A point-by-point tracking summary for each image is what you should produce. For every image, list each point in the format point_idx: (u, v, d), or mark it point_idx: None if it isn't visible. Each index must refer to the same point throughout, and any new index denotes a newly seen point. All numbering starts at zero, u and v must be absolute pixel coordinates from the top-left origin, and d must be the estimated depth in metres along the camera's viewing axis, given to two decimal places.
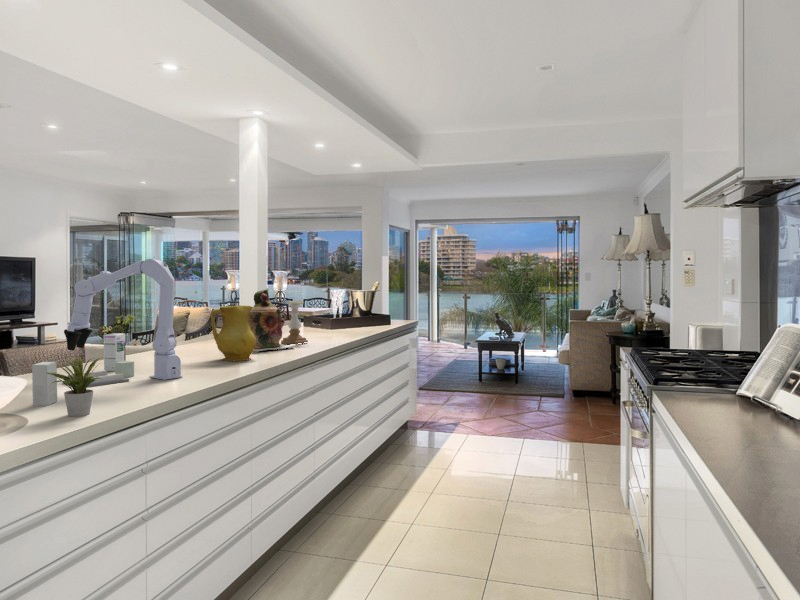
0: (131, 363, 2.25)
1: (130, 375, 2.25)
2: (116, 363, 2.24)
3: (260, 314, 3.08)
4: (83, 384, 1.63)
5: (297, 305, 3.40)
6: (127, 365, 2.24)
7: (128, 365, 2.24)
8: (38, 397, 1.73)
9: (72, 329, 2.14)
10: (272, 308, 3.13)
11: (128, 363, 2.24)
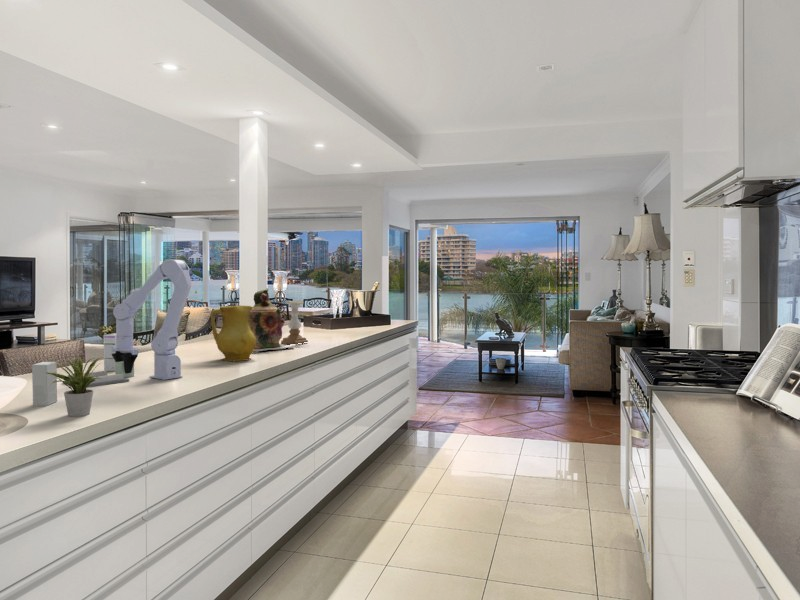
0: None
1: (130, 375, 2.25)
2: (116, 363, 2.24)
3: (260, 314, 3.08)
4: (83, 384, 1.63)
5: (297, 305, 3.40)
6: None
7: None
8: (38, 396, 1.73)
9: (137, 352, 2.21)
10: (272, 308, 3.13)
11: None
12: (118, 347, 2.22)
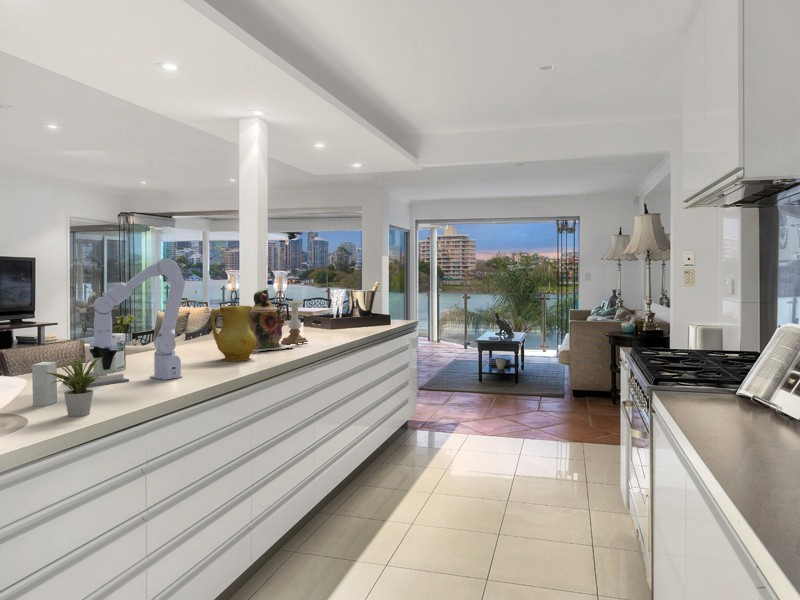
0: None
1: (109, 372, 2.14)
2: (94, 359, 2.13)
3: (260, 314, 3.08)
4: (83, 384, 1.63)
5: (297, 305, 3.40)
6: None
7: None
8: (38, 396, 1.73)
9: (116, 347, 2.10)
10: (272, 308, 3.13)
11: None
12: (96, 342, 2.11)
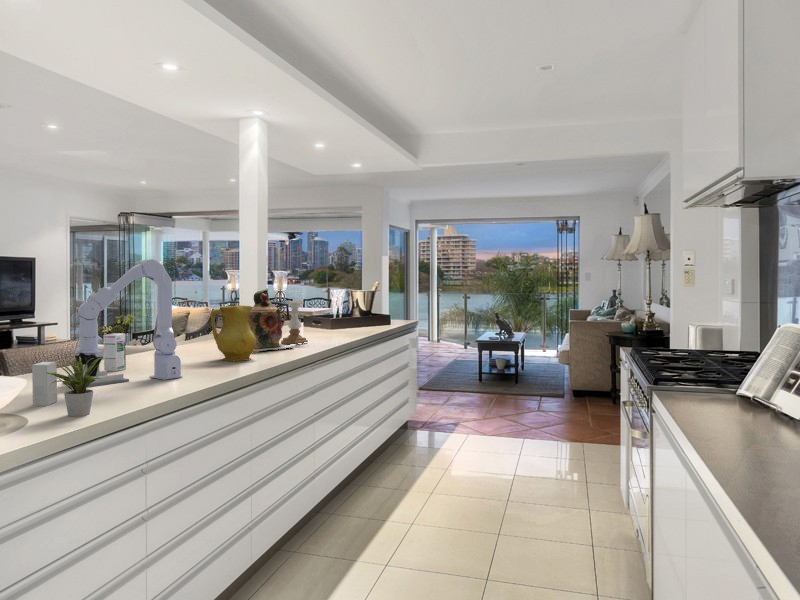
0: None
1: None
2: None
3: (260, 314, 3.08)
4: (83, 384, 1.63)
5: (297, 305, 3.40)
6: None
7: None
8: (38, 396, 1.73)
9: (102, 354, 2.06)
10: (272, 308, 3.13)
11: None
12: (81, 349, 2.07)
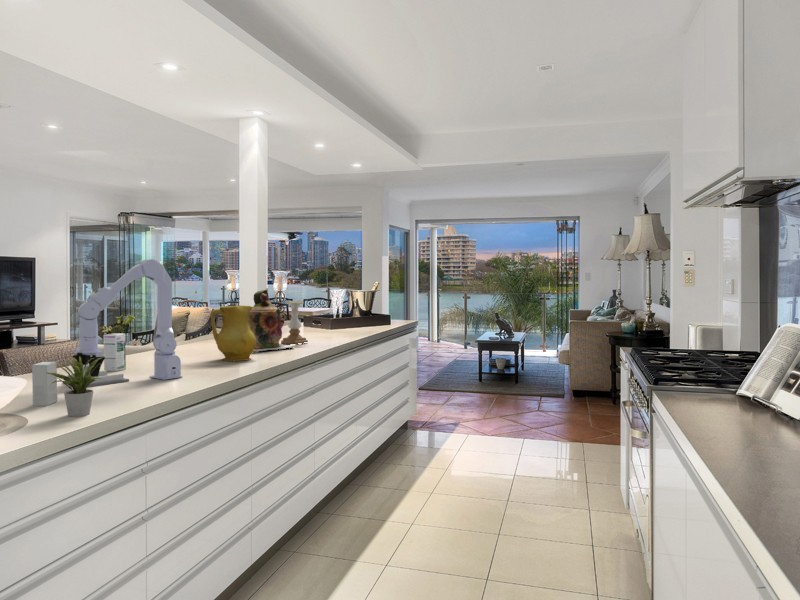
0: None
1: None
2: None
3: (260, 314, 3.08)
4: (83, 384, 1.63)
5: (297, 305, 3.40)
6: None
7: None
8: (38, 396, 1.73)
9: (101, 354, 2.06)
10: (272, 308, 3.13)
11: None
12: (81, 349, 2.07)
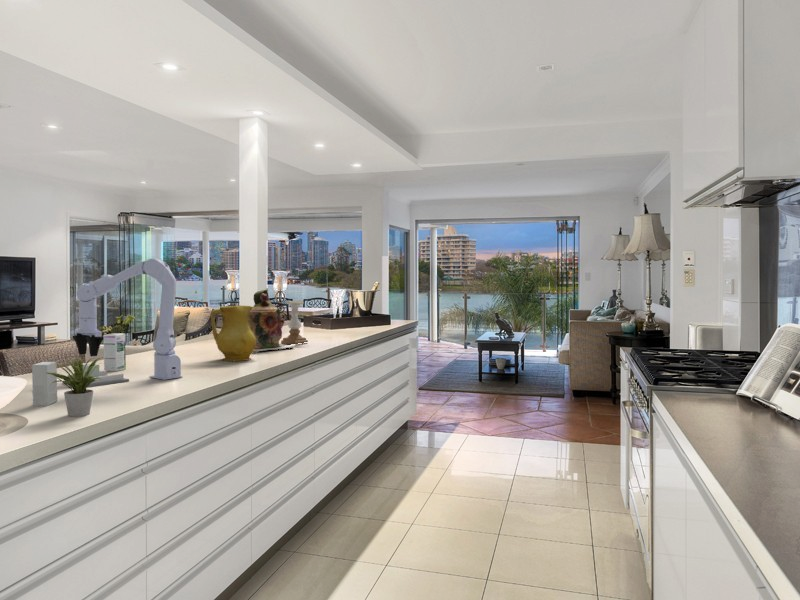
0: None
1: None
2: None
3: (260, 314, 3.08)
4: (83, 384, 1.63)
5: (297, 305, 3.40)
6: None
7: (92, 368, 2.09)
8: (38, 397, 1.73)
9: (100, 334, 2.16)
10: (272, 308, 3.13)
11: None
12: (81, 329, 2.17)
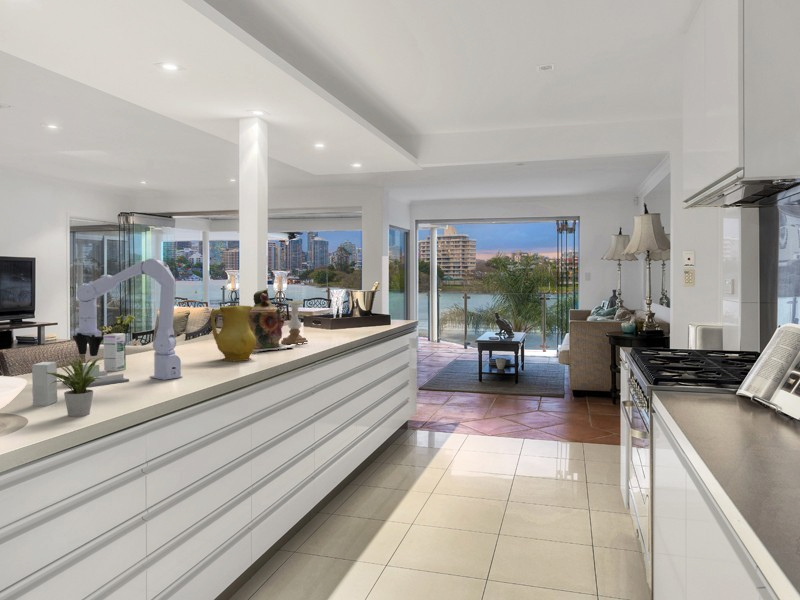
0: None
1: None
2: None
3: (260, 314, 3.08)
4: (83, 384, 1.63)
5: (297, 305, 3.40)
6: None
7: (92, 368, 2.09)
8: (38, 396, 1.73)
9: (100, 334, 2.17)
10: (272, 308, 3.12)
11: None
12: (81, 329, 2.18)
